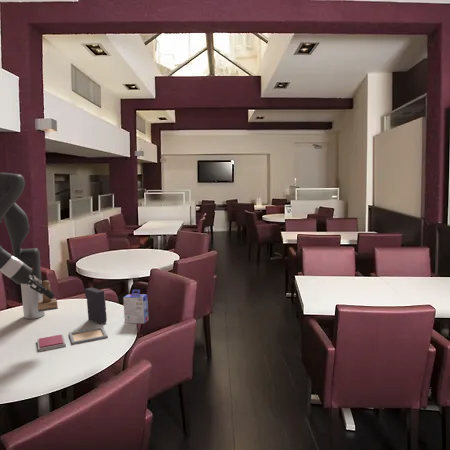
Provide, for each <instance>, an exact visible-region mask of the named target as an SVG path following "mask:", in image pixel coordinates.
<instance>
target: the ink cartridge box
mask: <svg viewBox="0 0 450 450" xmlns="http://www.w3.org/2000/svg"><path fill="white" fill-rule="evenodd" d="M122 298H123V299H122V300H123V312H124V313H123V315H124V316H123V318H124V323H125V324H142V325H143V324H144V325H145V324H146V323H147V322H148V321H149V320H150V318H149V303H148V301H149V300H148V294H144V293H143V294H141V290H140V289H132V291H131V294H126V295H125V296H122Z"/></svg>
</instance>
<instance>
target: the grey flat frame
mask: <svg viewBox="0 0 450 450" xmlns="http://www.w3.org/2000/svg"><path fill="white" fill-rule="evenodd" d="M68 336H69V338H70V342H71V345H76V344H82V342H83V343H86V342H87V343H88V342H93V341H97V340H102V339H108V334H107V331H106V330H105V329H104V327H103V326H100V327H94V328H89V329H88V328H87V329H83V330H78V331H73V332H69V333H68Z"/></svg>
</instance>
